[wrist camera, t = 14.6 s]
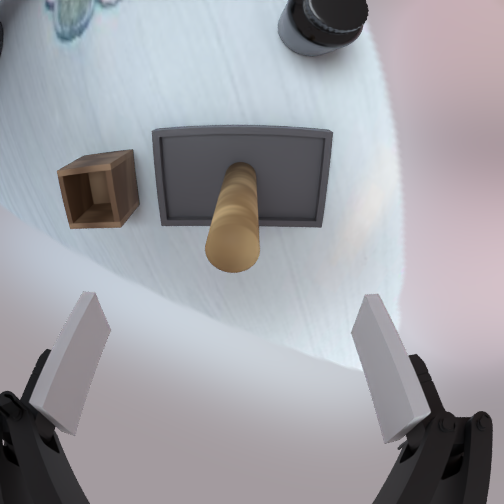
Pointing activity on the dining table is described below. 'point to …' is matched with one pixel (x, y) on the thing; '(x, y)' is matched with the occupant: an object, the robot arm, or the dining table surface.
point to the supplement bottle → (321, 24)
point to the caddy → (99, 190)
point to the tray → (248, 151)
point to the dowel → (235, 222)
